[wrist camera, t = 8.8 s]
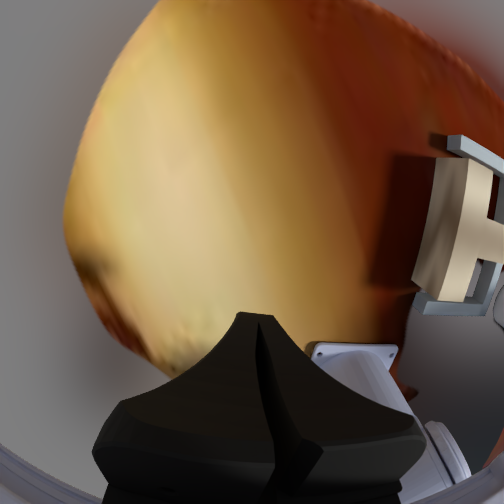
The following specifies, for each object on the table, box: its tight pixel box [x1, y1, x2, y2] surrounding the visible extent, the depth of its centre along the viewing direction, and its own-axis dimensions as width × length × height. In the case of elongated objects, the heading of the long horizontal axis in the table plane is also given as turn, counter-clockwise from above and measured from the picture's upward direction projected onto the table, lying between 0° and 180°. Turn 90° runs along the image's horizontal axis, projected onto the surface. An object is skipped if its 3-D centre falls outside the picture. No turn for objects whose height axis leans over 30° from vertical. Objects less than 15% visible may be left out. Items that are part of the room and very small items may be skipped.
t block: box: [411, 158, 504, 302], centre depth 17 cm, size 10×9×4 cm
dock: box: [412, 135, 504, 316], centre depth 18 cm, size 14×9×2 cm, turn 172°
